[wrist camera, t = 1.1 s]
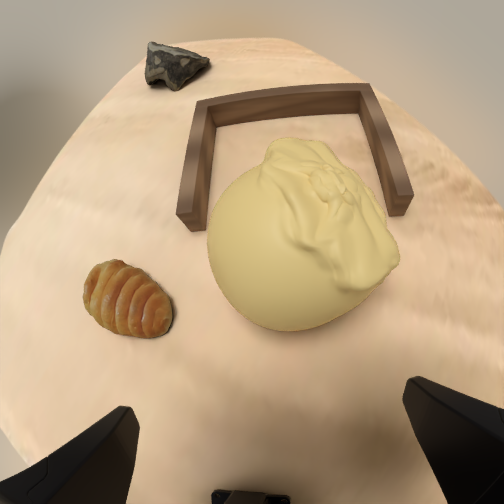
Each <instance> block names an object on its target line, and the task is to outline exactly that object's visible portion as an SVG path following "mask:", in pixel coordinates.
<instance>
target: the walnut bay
mask: <svg viewBox="0 0 504 504" xmlns="http://www.w3.org/2000/svg"><path fill="white" fill-rule="evenodd" d="M346 113H358V114H359V116H360V119H361V122H362V125H363V127H364V130H365V133H366V136H367V139H368V142H369V145H370V148H371V151H372V155H373V158H374V161H375V164H376V168H377V171H378V175H379V178H380V182H381V186H382V190H383V193H384V197H385V201H386V205H387V210H388V214H389V216H404V214H405V212H406V210H407V208H408V206H409V204H410V202H411V200H412V198H413V196H414V193H413V189H412V186H411V183H410V180H409V177H408V174H407V171H406V168H405V165H404V163H403V160H402V157H401V154H400V152H399V149H398V146H397V144H396V141H395V139H394V136H393V134H392V131H391V129H390V127H389V124H388V122H387V120H386V117H385V115H384V113H383V111H382V109H381V106H380V104H379V102H378V100H377V98H376V96H375V94H374V92H373V90H372V88H371V86H370V84H369V83H337V84H314V85H300V86H288V87H279V88H270V89H262V90H255V91H248V92H242V93H236V94H230V95H225V96H220V97H215V98H210V99H205V100H200V101H197V103H196V108H195V112H194V117H193V121H192V126H191V130H190V135H189V140H188V145H187V150H186V155H185V161H184V166H183V172H182V178H181V183H180V189H179V196H178V202H177V209H176V215H177V216H178V217H179V219H180V220H181V221H182V222H183V223H184V224H185V225H186V227H187V228H188V229H189V230H190V231H191V232H193V231H203V230H206V220H207V209H208V198H209V188H210V178H211V169H212V160H213V151H214V143H215V135H216V127H220V126H225V125H231V124H238V123H244V122H251V121H259V120H266V119H275V118H284V117H295V116H307V115H322V114H346Z"/></svg>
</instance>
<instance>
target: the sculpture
mask: <svg viewBox="0 0 504 504" xmlns="http://www.w3.org/2000/svg"><path fill="white" fill-rule="evenodd" d="M207 249H208V256H209V262H210V266H211V269H212V272H213V275H214V277H215V280H216V282H217V284H218V286H219V288H220V289H221V291H222V293H223V294H224V296H225V297H226V298H227V300H228V301H229V302H230V303H231V305H232V306H233V307H234V308H235V309H236V310H237V311H238V312H239V313H240V314H242V315H243V316H244V317H246V318H247V319H248V320H250V321H252V322H253V323H255V324H257V325H260V326H262V327H265V328H268V329H272V330H278V331H300V330H306V329H310V328H314V327H317V326H320V325H323V324H325V323H327V322H329V321H331V320H333V319H335V318H337V317H339V316H341V315H343V314H345V313H346V312H348V311H350V310H351V309H353V308H355V307H356V306H357V305H359V304H360V303H361V302H363V301H364V300H365V299H366V298H367V297H368V296H369V295H370V293H371V292H372V291H373V290H374V289H375V288H376V287H377V286H378V285H380V284H381V283H383V281H384V280H385V278H386V277H387V276H388V275H389V273H390V272H391V270H393V269H394V268H396V267H397V266H398V264H399V262H400V254H399V250H398V246H397V243H396V241H395V240H394V238H393V236H392V235H391V233H390V232H389V230H388V229H387V225H386V216H385V213H384V211H383V209H382V208H381V206H380V205H379V204H378V202H377V201H376V199H375V196H374V193H373V192H372V190H371V189H370V188H368V187H367V186H366V185H365V184H364V183H363V181H362V180H361V178H360V177H359V176H358V174H357V173H356V172H355V171H353V170H352V169H350V168H348V167H346V166H344V165H343V164H342V163H341V162H340V161H339V159H338V158H337V157H336V156H335V154H334V153H333V151H332V150H331V149H330V148H329V147H328V146H327V145H326V144H325V143H323V142H321V141H312V140H310V141H306V140H302V139H298V138H281V139H277V140H275V141H273V142H272V143H271V144H270V146H269V147H268V149H267V151H266V154H265V159H264V161H263V162H262V163H261V164H260V165H258V166H256V167H254V168H252V169H251V170H249V171H247V172H246V173H244V174H243V175H241V176H240V177H239V178H237V179H236V180H235V181H234V182H233V183H232V184H231V185H230V186H229V187H228V188H227V189H226V190H225V191H224V193H223V194H222V195H221V197H220V198H219V200H218V202H217V203H216V205H215V207H214V210H213V212H212V215H211V218H210V222H209V226H208V234H207Z"/></svg>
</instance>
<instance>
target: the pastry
mask: <svg viewBox="0 0 504 504" xmlns="http://www.w3.org/2000/svg"><path fill="white" fill-rule="evenodd" d="M83 301H84V305H85V309H86V310H87V311H88V313H89V314H90V315H92V316H93V317H94V318H95V320H96V321H97V322H98V323H99V325H101V326H102V327H103V328H106V329H108V330H110V331H112V332H113V333H115V334H121V335H129V336H134V337H139V338H153V337H157V336H161V335H163V334H165V333H166V332H167V331H168V328H169V326H170V324H171V321H172V308H171V304H170V300H169V297H168V295H167V294H166V293H164V292H163V291H162V290H161V289H160V288H159V286H158V285H157V283H156V282H155V281H153V280H152V279H151V278H149V277H148V276H147V275H146V274H145V272H144V271H143V270H142V269H140V268H134V267H132V266H129V265H127V264H125V263H124V262H123V261H121V260H117V259H113V260H110V261H106V262H104V263H102V264H97V265H96V266H95V267H94V268H93V269H92V270H91V272H90V273H89V275H88V277H87V279H86V281H85V284H84V294H83Z"/></svg>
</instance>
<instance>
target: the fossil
mask: <svg viewBox="0 0 504 504" xmlns="http://www.w3.org/2000/svg"><path fill="white" fill-rule="evenodd" d="M209 60H210V59H209V58H207V57H201V56H200V55H199V54H197V53H194V52H191V51H188V50H185V49H182V48H179V47H170V46H166V45H163V44H162V45H161V44H157V43H155V42H149V43H148V51H147V60H146V68H145V79H146V82H147V84H148V85H152V84H153V83H154V82H155V81H157V80H158V79H159V78H160V79H163V80H165V83H166V85H167V86H168V87H170V88H171V89H172V90H173V91H177V90H179V89H180V87H181V86H182V84H183V83H184V82H185V80H186V79H188V78H191V77H192V76H193V75H194V74H195V73H196V72H197V71H198V70H199V69H200V68H202V67H206V66H207V65H208V63H209Z"/></svg>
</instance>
